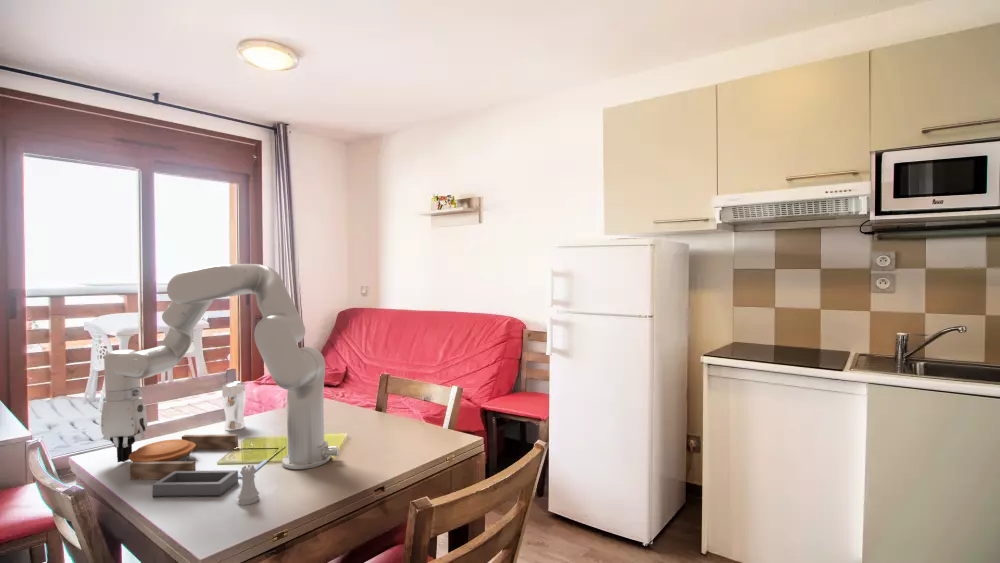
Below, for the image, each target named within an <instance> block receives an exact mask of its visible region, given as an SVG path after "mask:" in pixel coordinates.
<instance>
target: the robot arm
mask: <svg viewBox="0 0 1000 563" xmlns="http://www.w3.org/2000/svg"><path fill="white" fill-rule="evenodd" d="M166 286H167V288H166V293H167V296H168V298H169V299H170V300H171V302H170V303H169V304H168V305H167V307H166V308H165V310H164V311H163V312H162V314H161V320H162V321H163V323H164V324H166V325H167V327H169V330H168V332H167V334H166V336H165V337H164V338H163V340H162V341H161V342H160V344H159V345H158V346H155V347H152V348H147V349H142V350H139V351H136V350H135V349H130V348H129V349H117V350H110V351H107V352H106V353H105V355H104V357H103V359H104V360H103V362H104V365H103V366H104V368H103V369H104V389H105V391H104V393H105V400H103V404H102V408H101V409H102V410H101V415H100V416H101V418H100V419H101V420H100V430H101V434H102V435H103V440H105V441H108V442H109V441H110V442H111V443H112V444H113V447H114V448H116V458H117V463H125V462H127V461H129V460H130V459H129V458H128V457H129V455H130V454H131V453H132V452H133V445H134V444H135V442H136V441H139V440H142V439H144V438H145V432H146V431H147V430H148V417H147V411H146V410H147V409H146V404H145V402H144V399H143V397H140V396H142V395H143V393H144V392H143V390H140V382H139V380H140V379H147V378H150V377H155V376H156V375H159V374H162V373H166V372H168V371H171V370H172V369H174V368H175V367H177V365H179V363H180V362H181V360H182V359H183V357H184V356H185V355H186V354H187V352H188V351H189V350H190V347H191V345H192V343H193V338H194V330H195V328H196V326H197V325H198V323H199V321H200V320H201V319H202V317H203V316H204V314H205V313H206V312H207V310H209V308H210V306H211V305H212V304H213V302H214V301H215V300H216V299H223V298H228V297H229V298H230V297H234V296H244V295H249V294H253V295H255V299H256V304H257V307H258V310H259V312H260V313H261V316H262V319H260V320H259V321H258V322H257V324H256V326H255V328H254V332H253V334H254V342H255V345H256V348H257V349H258V350H257V351H258V352H259V354H260V356H261V359H262V360H263V363H264V364H265V366H266V369H267V371H268V373H269V375H270V377H271V380H273V382H275V384H276V385H277V386H278V387H280V388H281V389H283V390H287V391H286V424H287V426H286V429H287V430H286V431H287V432H286V433H287V454H286V455H284V457H283V458H282V460H281V465H282V467H284V468H285V469H289V470H307V469H312V468H316V467H319V466H322V465H324V464H326V463H328V462H329V461H330V459H331V457H336V456H337V457H338V456H339V454H340V448H338V446H337V445H336V446H330V445H329V442H328V441H327V440H326V441H325V419H324V418H325V417H324V415H325V413H324V409H325V408H324V404H325V401H324V400H325V398H324V392H325V391H324V388H325V386H324V385H325V377H326V376H325V374H326V361H325V360H326V359H325V357H324V355H323V353H321V352H320V350H318V349H316V348H315V347H312V346H304V347H303V346H302V347H299V345H298V343H300V342H301V341H303V339H304V338H305V334H306V327H305V324H304V322H303V319H302V317H301V316H300V313H299V312H298V309H297V307H296V305H295V303H294V301H293V299H292V297H291V295H290V293H289V292H288V290H287V287H286V284H285V283H284V281H283V279H282V277H281V275H280V274H279V273H278V272H277V271H276V270H275V269H274V268H271V267H270V266H267V265H264V264H259V263H226V264H225V263H223V264H218V265H213V266H207V267H203V268H200V269H199V268H198V269H193V270H187V271H182V272H179V273H177V274H175V275H174V276H173V277H172V278H171V279H170V280H169V281H168V284H167V285H166ZM330 456H331V457H330Z"/></svg>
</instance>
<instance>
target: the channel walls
mask: <svg viewBox="0 0 1000 563" xmlns="http://www.w3.org/2000/svg"><path fill="white" fill-rule="evenodd" d="M181 440H187V441H190V442H193V443H195V444H196V447H195V448H194V449H193V451H194V450H195V451H196V450H197V451H199V450H202V451H203V450H204V451H205V450H206V451H207V450H210V451H211V450H214V451H215V450H217V451H218V450H235V449H234V448H236V447H239V434H237V433H236V434H235V433H234V434H232V433H231V434H228V433H227V434H184V435H182V436H181ZM174 471H197V470H196V460H195V461H194V460H193V461H192V460H191V461H190V460H186V461H166V462H132V461H131V463H129V480H130V479H131V480H161V479H162V478H164V477H166V476H167V475H169V474H170V473H172V472H174Z"/></svg>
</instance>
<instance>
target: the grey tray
mask: <svg viewBox="0 0 1000 563" xmlns="http://www.w3.org/2000/svg"><path fill="white" fill-rule="evenodd" d="M238 475H239V470H236V469H235V470H230V469H229V470H196V471H174V472H172V473H170V474H169V475H167V476H166V477H164V478H162V479H158V481H156V482H154V483H153V484H152V485H151V486H152V487H151V488H152V489H151V490H152V498H193V497H194V498H207V497H208V498H209V497H212V498H215V497H217V498H218V497H222V496H223V495H224V494H226V493H227V492H228V491H229V490H231V489H232V488H233V487H234V486H235V485H237V484H238V483H239V478H238Z"/></svg>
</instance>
